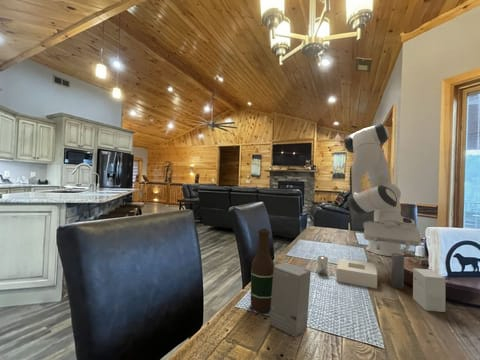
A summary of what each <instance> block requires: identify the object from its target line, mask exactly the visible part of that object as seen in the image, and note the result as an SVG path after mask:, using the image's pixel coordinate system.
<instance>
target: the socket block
mask: <svg viewBox="0 0 480 360" xmlns="http://www.w3.org/2000/svg"><path fill="white" fill-rule="evenodd" d="M336 282H339V283H344V284H350V285H355V286H361V287H367V288H371V289H378V271H377V266H376V263H372V262H367V261H366V262H365V261H359V260H351V259H345V258H338V262H337V267H336Z"/></svg>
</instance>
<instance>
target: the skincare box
mask: <svg viewBox="0 0 480 360" xmlns="http://www.w3.org/2000/svg"><path fill="white" fill-rule="evenodd" d="M311 273H312V271H311V270H309V269H307V268H304V267H301V266H299V265H295V264H291V263H289V262H283V263H280V264H277V265H275V266H274V270H273V283H272V296H271V308H270V312H269V325H270V326H272V327H274V328H276V329H278V330H279V331H282V332H285V333H286V334H288V335H290V336H292V337H294V338H297V337H298V336H299V335H300V334H301V333H302V332H303V331H305V330H306V329H307V328H308V319H309V318H308V316H309V314H308V313H309V301H310V300H309V299H310V289H311V288H310V284H311V276H312V275H311Z"/></svg>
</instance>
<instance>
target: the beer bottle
mask: <svg viewBox="0 0 480 360" xmlns="http://www.w3.org/2000/svg"><path fill="white" fill-rule="evenodd" d="M270 233H271V232H270V230H269V229H268V228H260V229H258V231H257V234H258V242H257V251H256V252H257V253H256V255H255V257H254V258H253V260H252V261H251V266H250V268H251V269H250V307H251V310H253V311H254V312H256V313H259V314H270V308H271V296H272V283H273V270H274V266H276V265H275V263H274V260H273V259H272V257H271V252H270Z"/></svg>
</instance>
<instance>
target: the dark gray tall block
mask: <svg viewBox="0 0 480 360" xmlns="http://www.w3.org/2000/svg"><path fill="white" fill-rule="evenodd" d="M390 262H391V265H390V266H391V270H390V272H391V273H390V275H391V277H390V286H391V288H394V289H397V290H403V289H404V285H405V284H404V283H405V282H404V281H405V277H404V276H405V255H401V254H396V253H393V254H392V256H391V261H390Z"/></svg>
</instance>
